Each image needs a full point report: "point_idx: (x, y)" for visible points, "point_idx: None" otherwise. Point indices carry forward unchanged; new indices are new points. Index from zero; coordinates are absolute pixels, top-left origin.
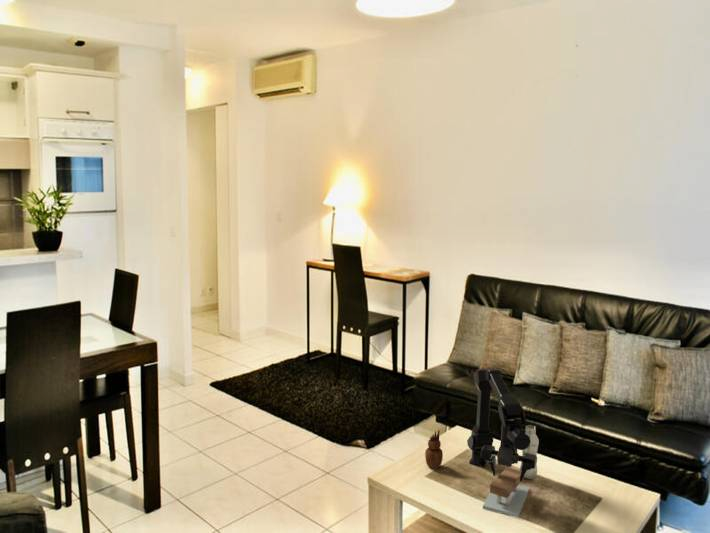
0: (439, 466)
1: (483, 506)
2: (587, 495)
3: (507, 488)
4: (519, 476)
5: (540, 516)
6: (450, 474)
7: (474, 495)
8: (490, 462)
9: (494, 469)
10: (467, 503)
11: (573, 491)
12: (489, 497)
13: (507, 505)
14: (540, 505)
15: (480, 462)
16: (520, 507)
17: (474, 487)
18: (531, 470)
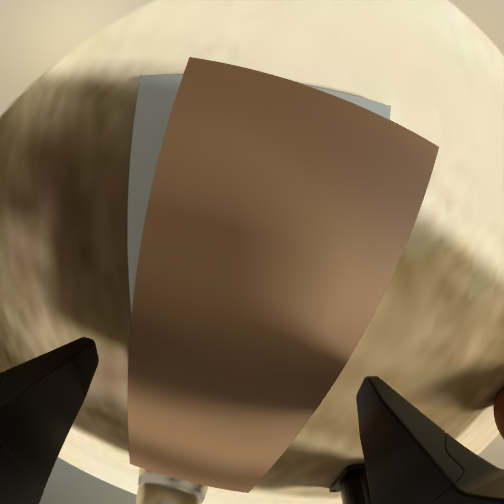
0: (501, 394)
1: (385, 105)
2: (3, 370)
3: (183, 97)
4: (129, 420)
5: (48, 158)
6: (481, 377)
7: (431, 251)
8: (500, 482)
9: (396, 437)
10: (461, 149)
11: None
12: None
13: None
14: (65, 269)
15: (365, 474)
16: (133, 171)
17: (421, 331)
18: (151, 475)
